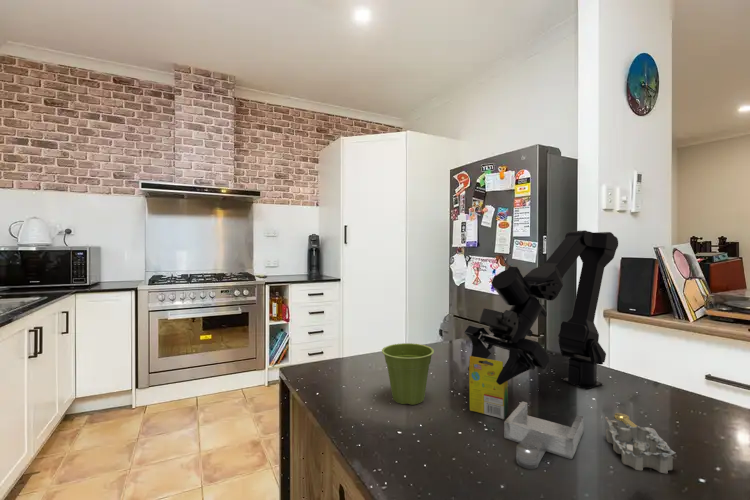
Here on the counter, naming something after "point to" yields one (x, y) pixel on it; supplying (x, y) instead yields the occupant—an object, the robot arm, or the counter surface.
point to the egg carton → (640, 447)
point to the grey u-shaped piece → (540, 437)
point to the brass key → (624, 419)
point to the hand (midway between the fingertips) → (483, 377)
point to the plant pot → (408, 371)
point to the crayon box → (487, 388)
